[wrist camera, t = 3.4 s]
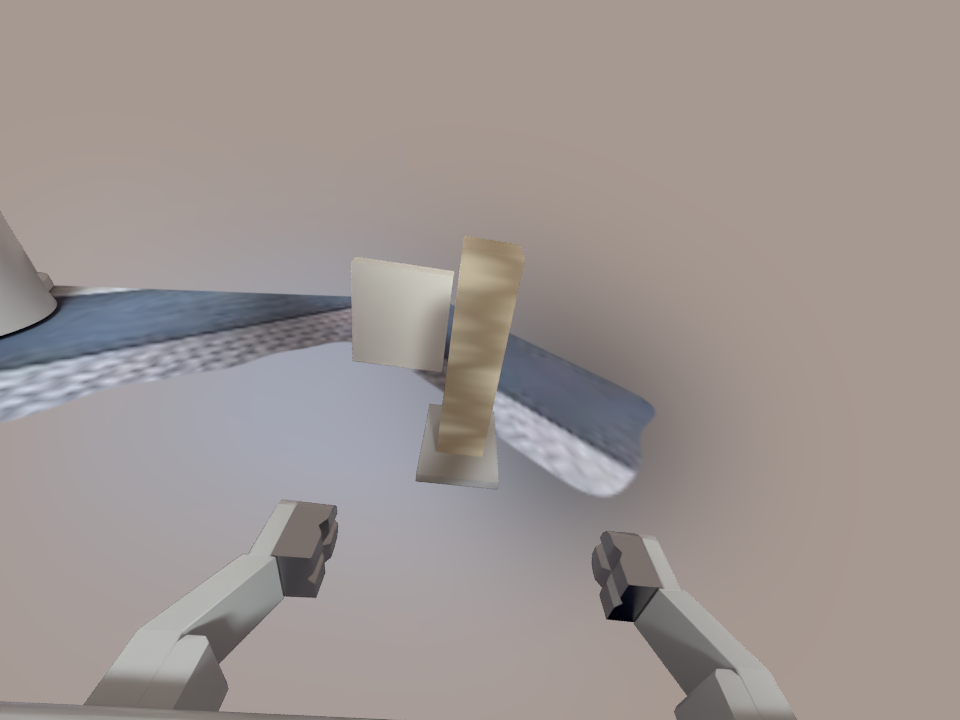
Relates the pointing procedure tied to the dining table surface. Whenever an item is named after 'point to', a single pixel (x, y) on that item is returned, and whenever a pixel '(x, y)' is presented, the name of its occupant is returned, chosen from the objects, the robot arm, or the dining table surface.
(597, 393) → the dining table surface
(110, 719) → the robot arm
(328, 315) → the dining table surface
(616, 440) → the dining table surface
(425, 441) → the wooden post on base
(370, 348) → the tile
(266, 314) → the dining table surface
